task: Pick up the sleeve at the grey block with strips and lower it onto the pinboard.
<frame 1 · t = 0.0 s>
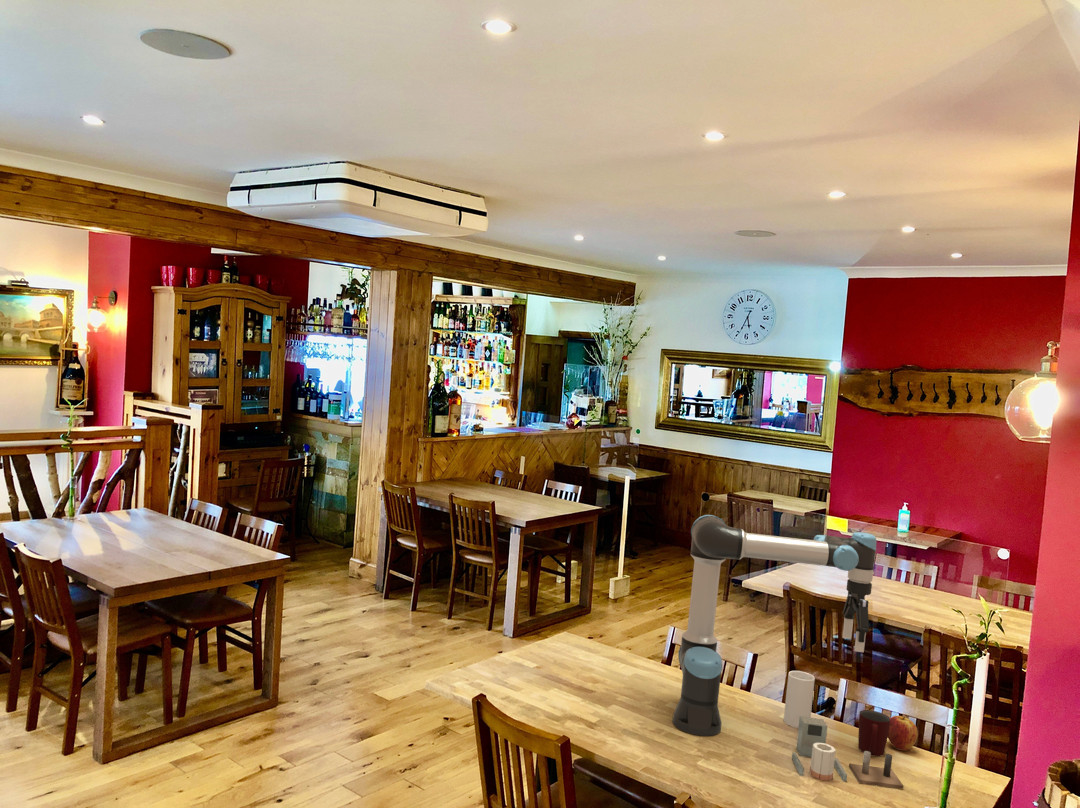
hand: (852, 644, 265), 28 cm above the table, fingers open, 13 cm apart
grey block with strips: (817, 768, 235), on the table
sleeve: (821, 774, 231), on the table
cup: (796, 723, 267), on the table
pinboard: (875, 777, 232), on the table
apple: (899, 748, 255), on the table
mug: (871, 753, 249), on the table
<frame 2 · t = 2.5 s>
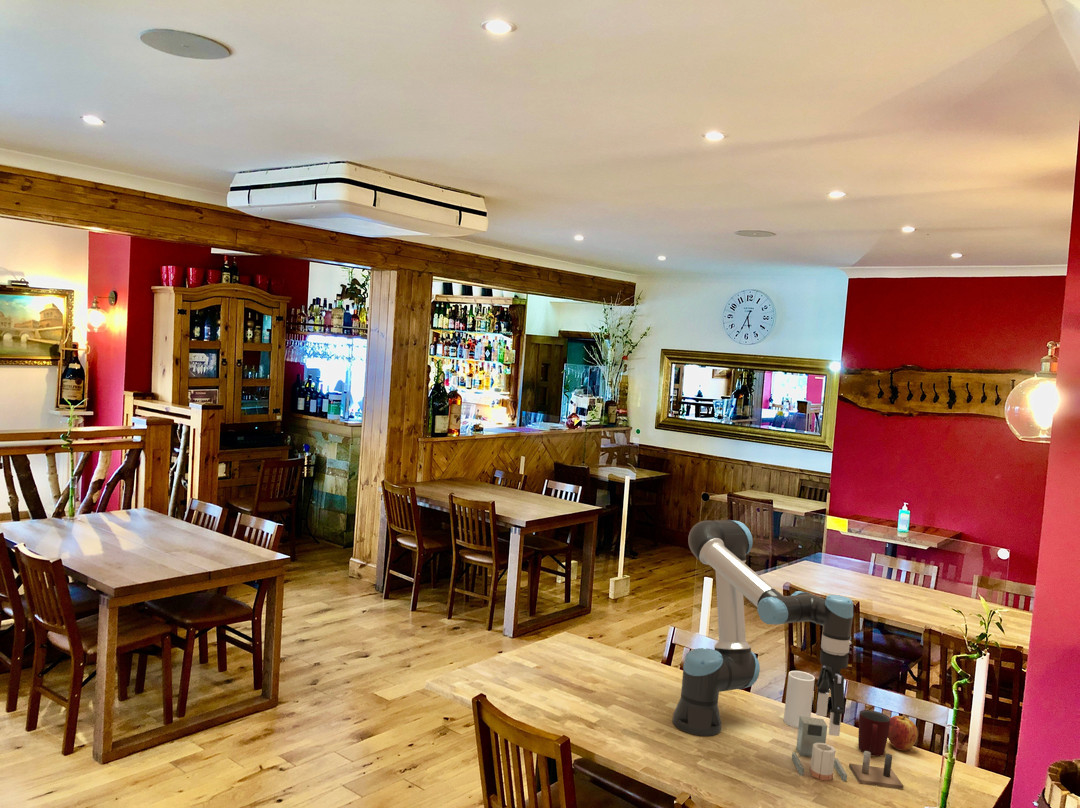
hand: (827, 725, 230), 15 cm above the table, fingers open, 13 cm apart
nothing on the table moved.
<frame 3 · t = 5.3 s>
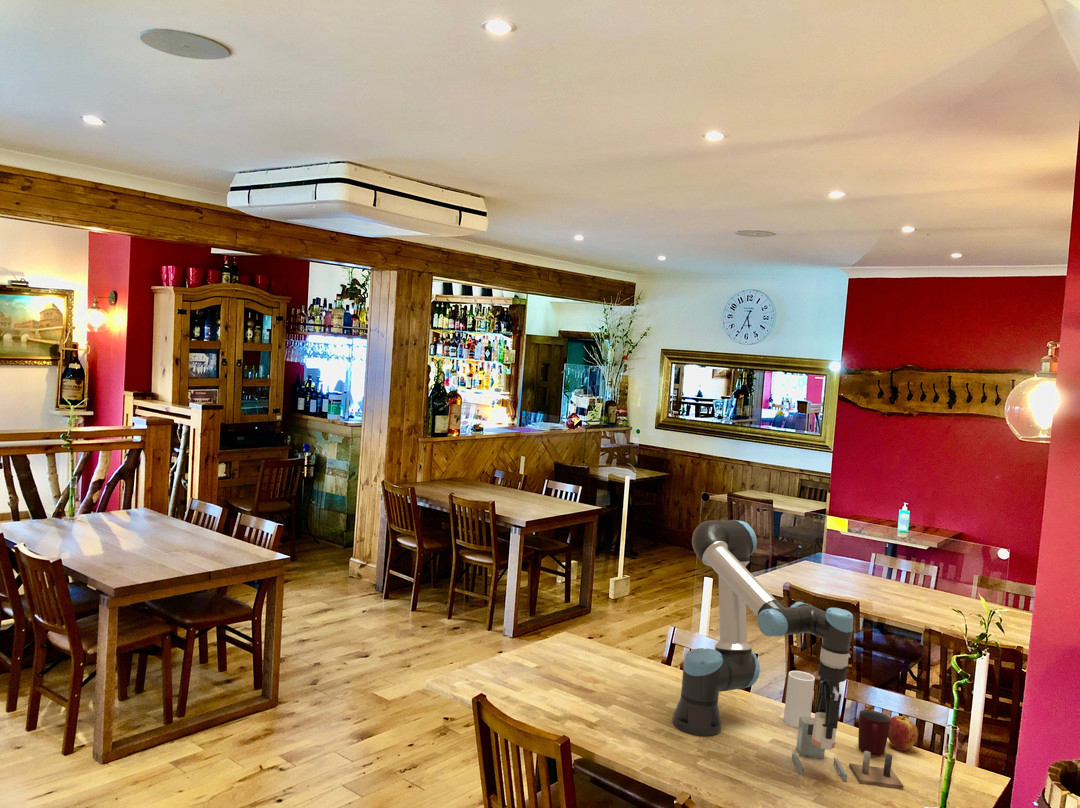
hand: (822, 742, 231), 9 cm above the table, fingers closed on sleeve, 6 cm apart
sleeve: (822, 744, 231), point 9 cm above the table, touching gripper
everything else where it was.
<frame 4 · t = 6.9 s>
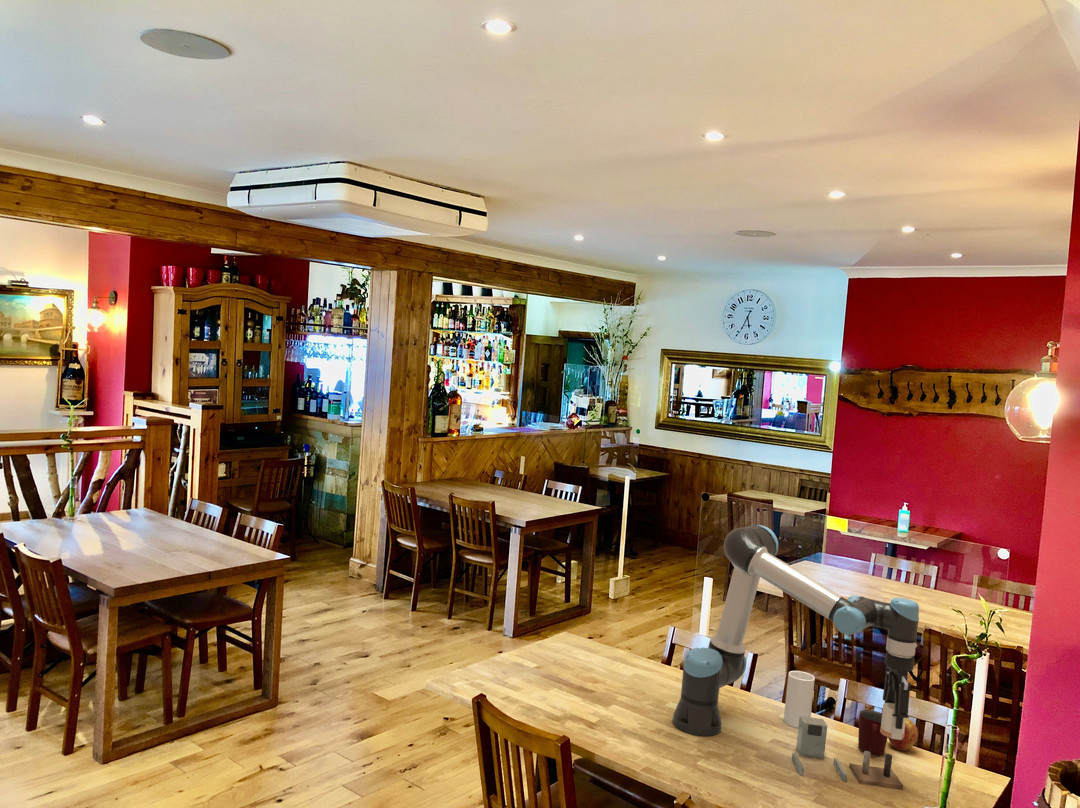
hand: (892, 733, 232), 13 cm above the table, fingers closed on sleeve, 6 cm apart
sleeve: (892, 734, 232), point 13 cm above the table, touching gripper
everything else where it was.
when the fingers open (2 cm above the table, at t = 8.8 s): sleeve drops 1 cm, resting on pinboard.
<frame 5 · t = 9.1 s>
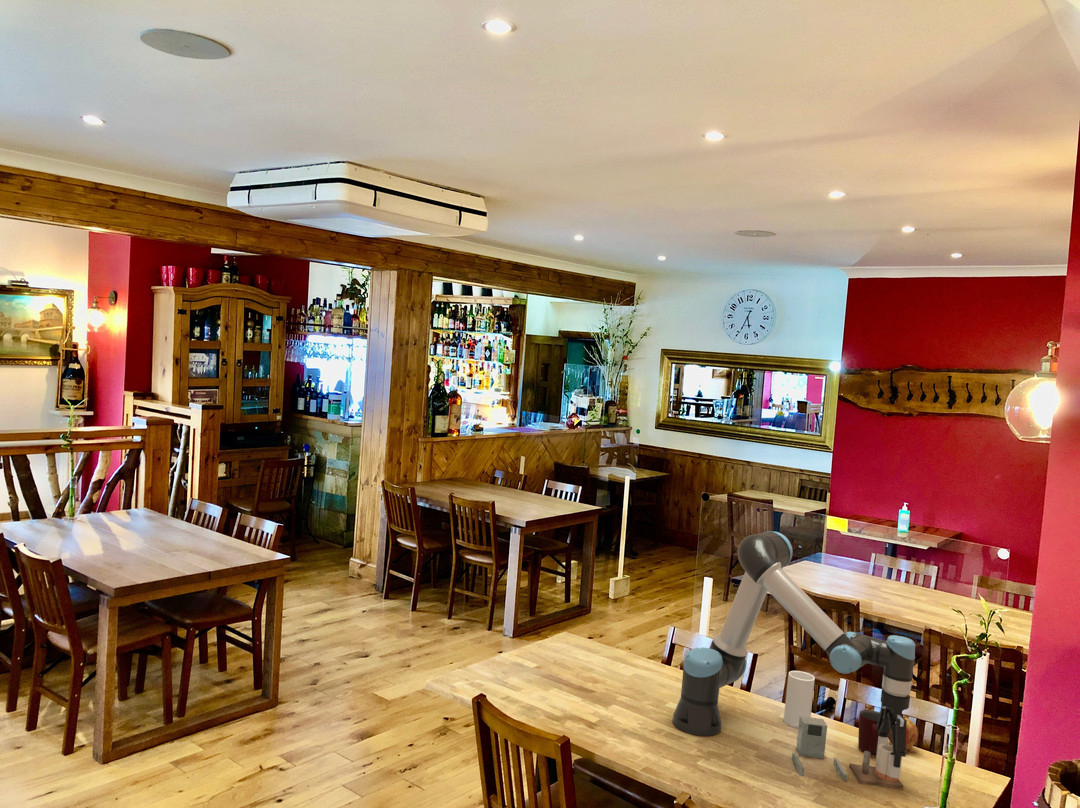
hand: (887, 767, 232), 3 cm above the table, fingers open, 10 cm apart
sleeve: (886, 775, 232), point 1 cm above the table, touching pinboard
everything else where it was.
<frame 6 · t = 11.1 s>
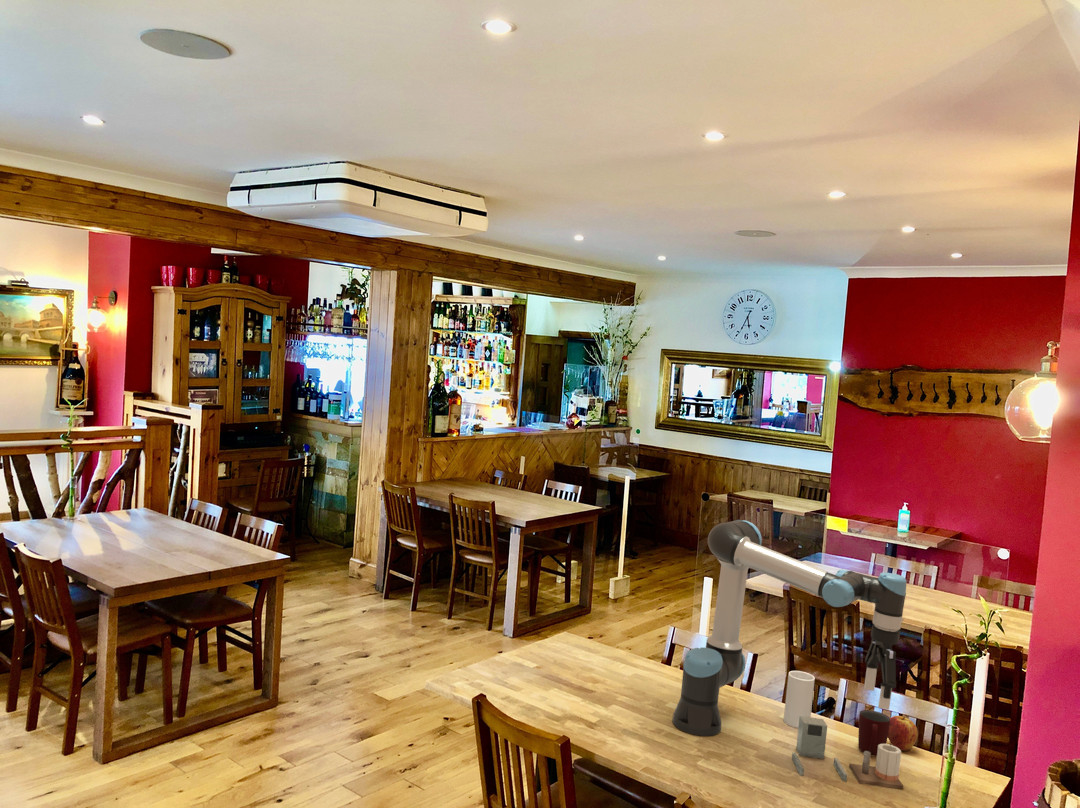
hand: (876, 698, 236), 21 cm above the table, fingers open, 13 cm apart
nothing on the table moved.
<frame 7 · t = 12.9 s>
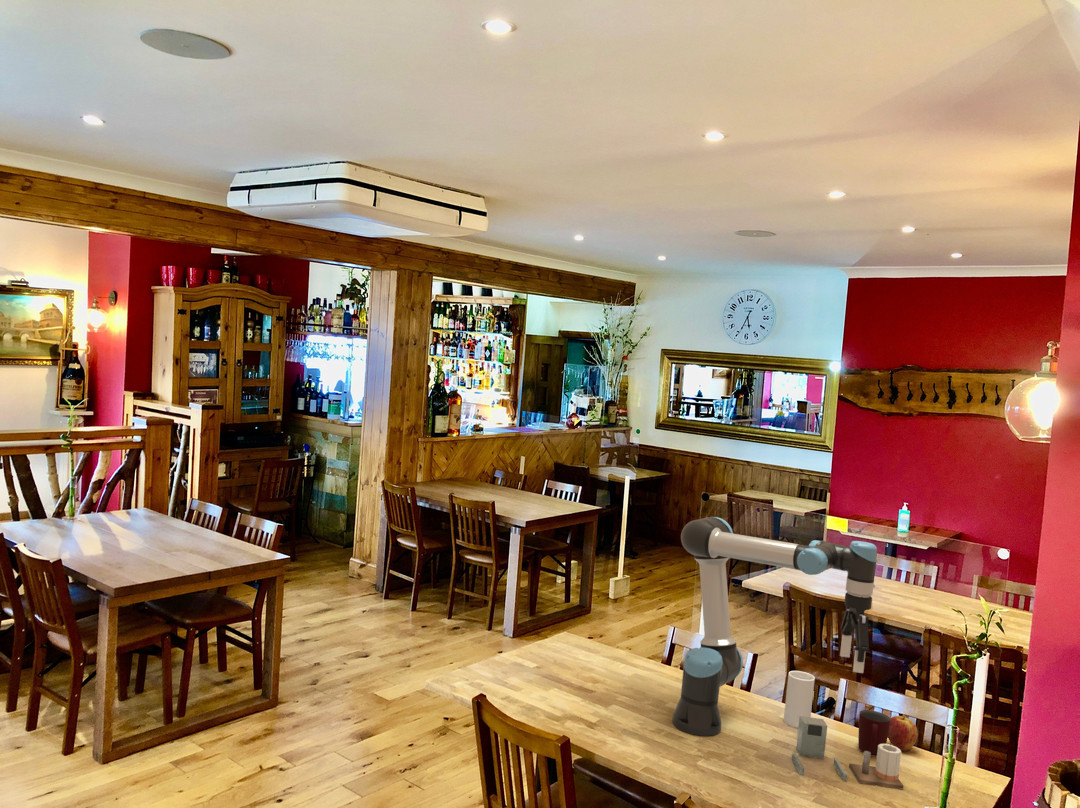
hand: (851, 664, 242), 29 cm above the table, fingers open, 13 cm apart
nothing on the table moved.
at the end: sleeve 0.0 cm from the target spot on the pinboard, point 1.0 cm above the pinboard's base; sleeve tilted 0°; the gripper is holding nothing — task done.
